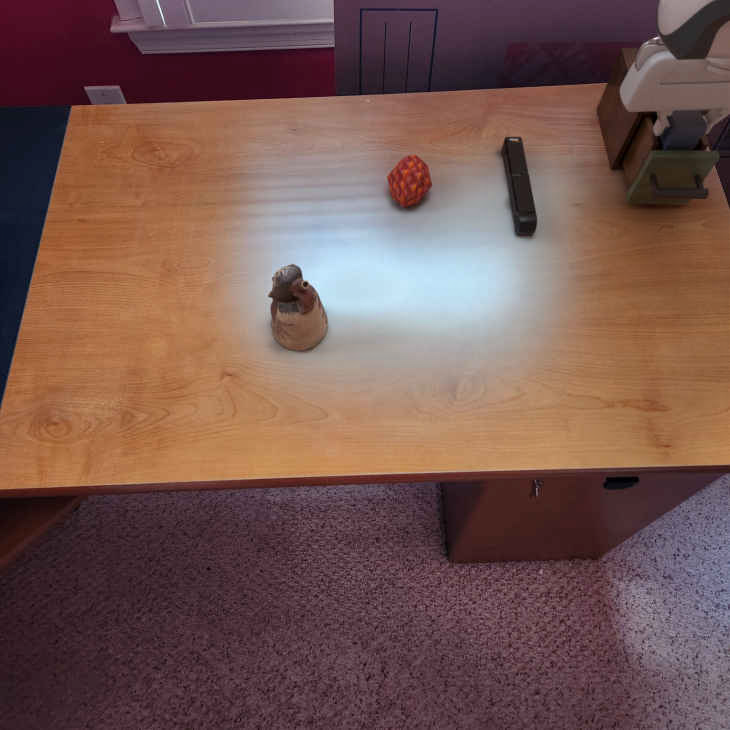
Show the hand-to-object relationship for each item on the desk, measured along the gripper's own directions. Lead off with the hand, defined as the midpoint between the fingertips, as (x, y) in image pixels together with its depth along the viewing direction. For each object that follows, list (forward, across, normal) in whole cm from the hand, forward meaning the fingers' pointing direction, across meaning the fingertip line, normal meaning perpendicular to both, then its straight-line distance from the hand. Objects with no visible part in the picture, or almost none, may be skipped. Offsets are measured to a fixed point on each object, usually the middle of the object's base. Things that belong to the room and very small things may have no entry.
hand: (679, 132), depth 78 cm
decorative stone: (+10, -36, 0) cm, 37 cm away
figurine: (+10, -52, -22) cm, 57 cm away
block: (+2, 0, 0) cm, 2 cm away
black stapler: (+10, -20, 0) cm, 22 cm away
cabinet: (+10, +1, +10) cm, 14 cm away
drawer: (+9, 0, 0) cm, 9 cm away
